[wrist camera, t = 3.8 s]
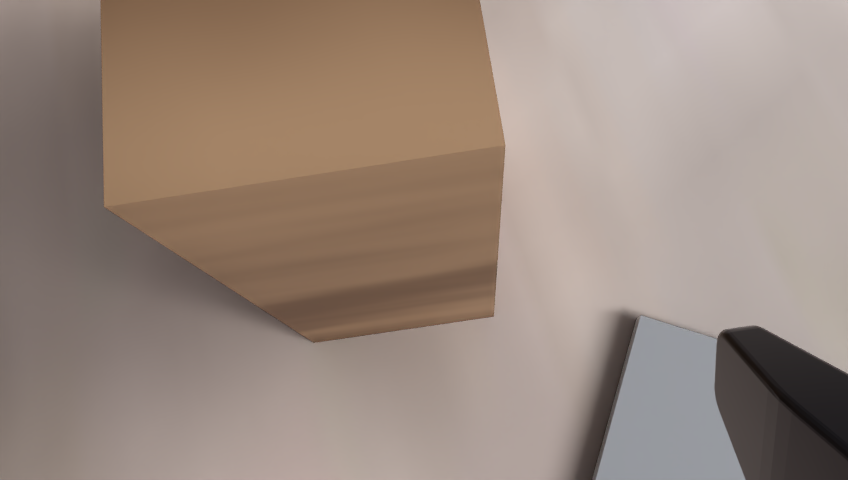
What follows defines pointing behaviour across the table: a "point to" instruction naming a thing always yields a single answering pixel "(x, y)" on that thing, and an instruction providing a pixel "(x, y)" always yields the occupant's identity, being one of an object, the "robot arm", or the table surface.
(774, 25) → the table surface
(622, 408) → the coaster
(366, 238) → the walnut block
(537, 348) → the table surface
